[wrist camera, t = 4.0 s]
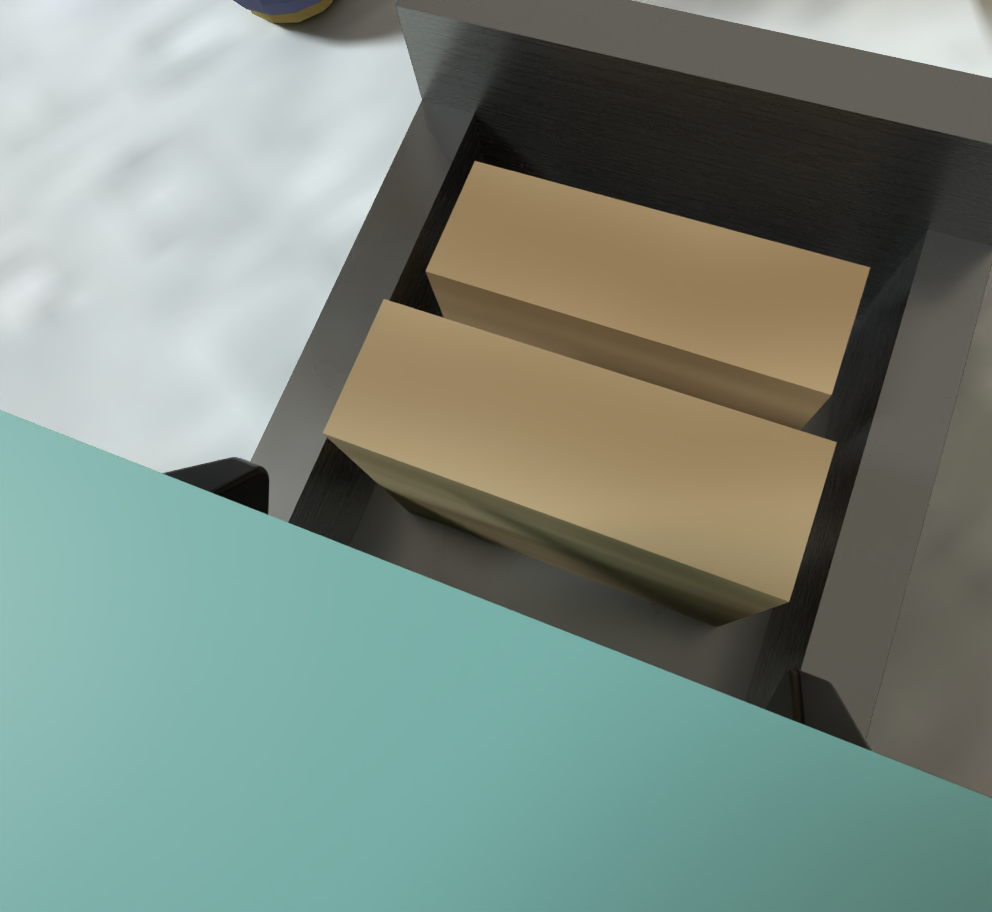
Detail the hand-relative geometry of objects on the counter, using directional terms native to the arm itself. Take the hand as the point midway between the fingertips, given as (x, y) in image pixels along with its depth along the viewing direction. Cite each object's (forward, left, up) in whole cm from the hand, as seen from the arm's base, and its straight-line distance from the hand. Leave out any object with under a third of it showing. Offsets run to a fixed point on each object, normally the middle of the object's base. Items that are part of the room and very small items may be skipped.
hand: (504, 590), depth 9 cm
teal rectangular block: (-1, +1, -6) cm, 6 cm away
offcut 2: (+2, -1, -6) cm, 6 cm away
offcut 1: (+5, -2, -6) cm, 8 cm away
